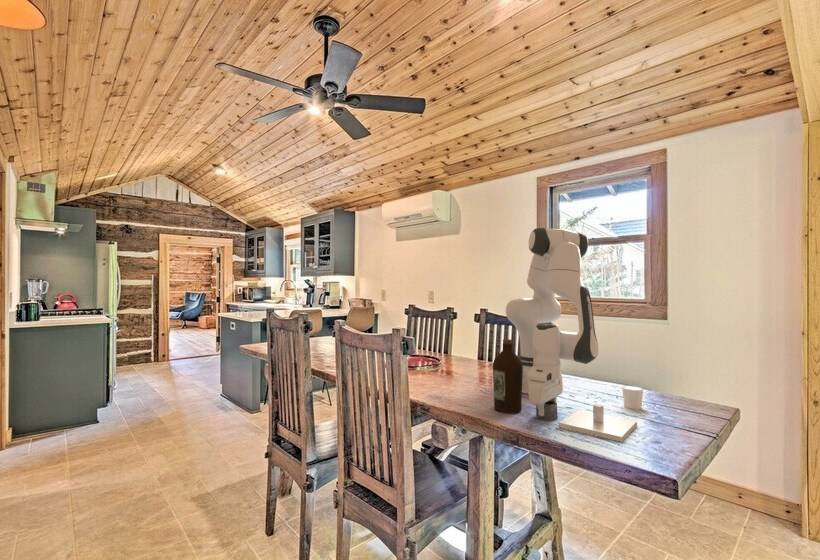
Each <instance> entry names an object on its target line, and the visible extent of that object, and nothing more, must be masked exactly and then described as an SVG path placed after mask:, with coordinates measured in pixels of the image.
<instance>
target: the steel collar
mask: <svg viewBox="0 0 820 560" xmlns="http://www.w3.org/2000/svg"><path fill="white" fill-rule="evenodd" d="M544 410H545V415H544V416H540V415H539V412H538V408H537V405H535V416H536V418H537V419H539V420H542V419H543V420H542V421H549V420H551V421H555V420H557V419H558V403H557V401H556V402H555V401H552V400H549V401H547V402H545V403H544Z"/></svg>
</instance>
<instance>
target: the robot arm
mask: <svg viewBox="0 0 820 560" xmlns="http://www.w3.org/2000/svg"><path fill="white" fill-rule="evenodd" d="M527 243H528V249H529V251H530V253H532V254H533V256H532V258H531V262H530V266H529V270H528V273H527V279H526V284H527V286H528V287H529V288H530V289H531V290H532V291H533V297H520V298H519V297H518V298H515V299H511V300H509V301H508V303H507V304H506V306H505V315H506V318H507V320H509V322H511V323H512V324H513V326H514V327H515V328H516V330H517V332H518V336H519V345H520V351H519V352H520V354H519V355H517V356H518V357H519V358H520V360H521V362H522V365H523V378H522V394H528V401H529V403H530V404H531V405H534V406H536V405H537V408H538V412H539V415H540V416H544V415H545V410H544V403H545V402H547V401H549V400H552V401H555V402H556V403H557V397H559V396H560V395H562V394H563V391H564V385H563V375H562V373H561V372H562V371H561V370H562V367H561V365H562V364H561V360H563V361H572V362H576V363H580V364H584V365H587V364H589V363H591V362H592V361H594V360H595V359H596V358H597V356H598V355H599V344H598V343H599V342H598V339H597V334H596V331H595V329H596V328H595V319H594V312H593V304H592V298H591V293H590V291H589V289H588V287H586V286H585V285H584V283H583V282H582V259H581V258H583V257H584V256H585V255H586V254H587V252H588V248H589V239H588V237H587V235H586V234H585V233H583V232H580V231H573V230H569V229H564V228H559V229H557V228H545V227H537V228H534V229H533V230H531V233H530V235H529V238H528V242H527ZM555 295H556V296H558V297H560V298H563V299H565V300H568V301H570V302H571V303H573V305H574V306H575V308H576V310H577V311H576V312H577V321H578V328H579V330H578V332H570V331H564V330H563V331H562V330H560V328H559V325H558V324H557V323H554V322H556V321H557V320H559V319H560V318H561V315H562V306H561V303H560V302H559V301H558V300H557V299H556V296H555Z"/></svg>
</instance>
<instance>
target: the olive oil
mask: <svg viewBox="0 0 820 560" xmlns="http://www.w3.org/2000/svg"><path fill="white" fill-rule="evenodd" d="M518 356H519V355H517V354H516V353H515V351H513V340H512V339H510V338H509V339H506V338H505V339H502V351H500V353H499V354H498V355H497V356H496V357H495V358H494V359H493V363H492V381H493V382H492V383H493V385H492V386H493V402H494V403H493V406H494V408H493V409H494V410H495V411H497V412H499V413H502V414H503V413H504V414H519V413H520V412H522V401H523V400H522V398H523V397H522V395H523V393H522V378H523V365H522V362H521V360H520V358H519V357H518Z"/></svg>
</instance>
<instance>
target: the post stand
mask: <svg viewBox="0 0 820 560" xmlns="http://www.w3.org/2000/svg"><path fill="white" fill-rule="evenodd" d="M604 410H605V409H604V405H601V404H593V405H592V411H588V410H583V409H577V411H574V412H573V413H571V414H570V415H568V416H567V417H566V418H564V419H563V420H561V421H560V422H558V427H561V428H560V429H563V428H565V430H568V429H569V430H568V431H572V430H574V431H573V432H576V431H579V432H578V433H580V432H583V433H582V434H585V433H588V434H587V435H589V434H592V435H591V436H593V435H597V436H596V437H598V436H601V437H600V438H602V437H605V438H604V439H606V438H609V439H608V440H610V439H612V440H611V441H615V440H616V442H619V441H620V442H619V443H623V442H624V440H625V439H626V438H627V437H628V436H629V435H630V434H631V433H632V432H633V431H634V430H635V428H637V426H638V420H634V419H629V418H624V417H619V416H614V415H610V414H605V412H604Z"/></svg>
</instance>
